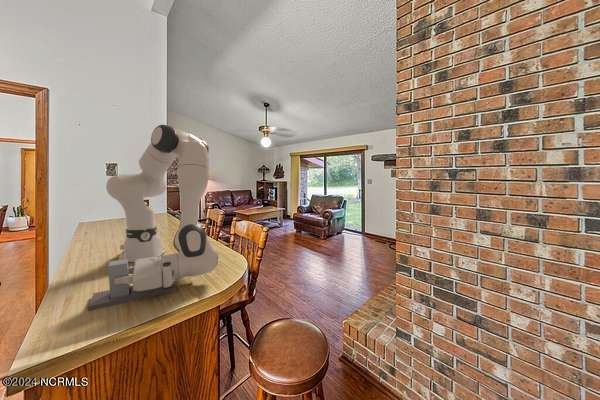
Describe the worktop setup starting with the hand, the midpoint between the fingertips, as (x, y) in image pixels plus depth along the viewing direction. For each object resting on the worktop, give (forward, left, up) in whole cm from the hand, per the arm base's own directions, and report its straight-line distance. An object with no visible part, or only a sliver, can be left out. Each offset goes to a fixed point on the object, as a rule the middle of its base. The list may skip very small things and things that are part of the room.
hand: (115, 277), depth 73 cm
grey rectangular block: (0, +1, -7) cm, 7 cm away
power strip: (+1, +5, -8) cm, 9 cm away
